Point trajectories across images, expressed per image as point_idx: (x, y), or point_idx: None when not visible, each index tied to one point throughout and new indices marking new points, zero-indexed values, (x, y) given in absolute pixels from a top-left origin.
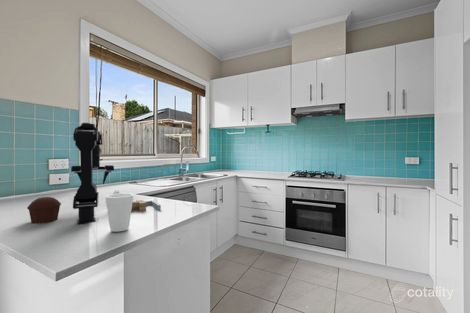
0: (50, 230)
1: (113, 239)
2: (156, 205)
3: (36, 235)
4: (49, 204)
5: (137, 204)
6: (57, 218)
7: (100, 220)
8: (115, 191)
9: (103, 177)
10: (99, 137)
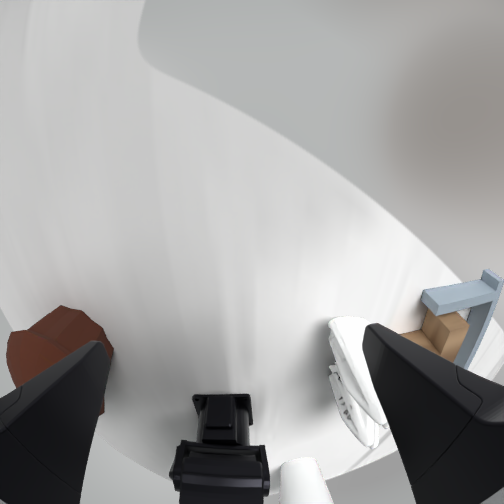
0: (152, 433)
1: (278, 484)
2: (461, 364)
3: (140, 443)
4: None
5: None
6: (112, 352)
7: (267, 418)
8: (377, 420)
9: (420, 407)
10: None
